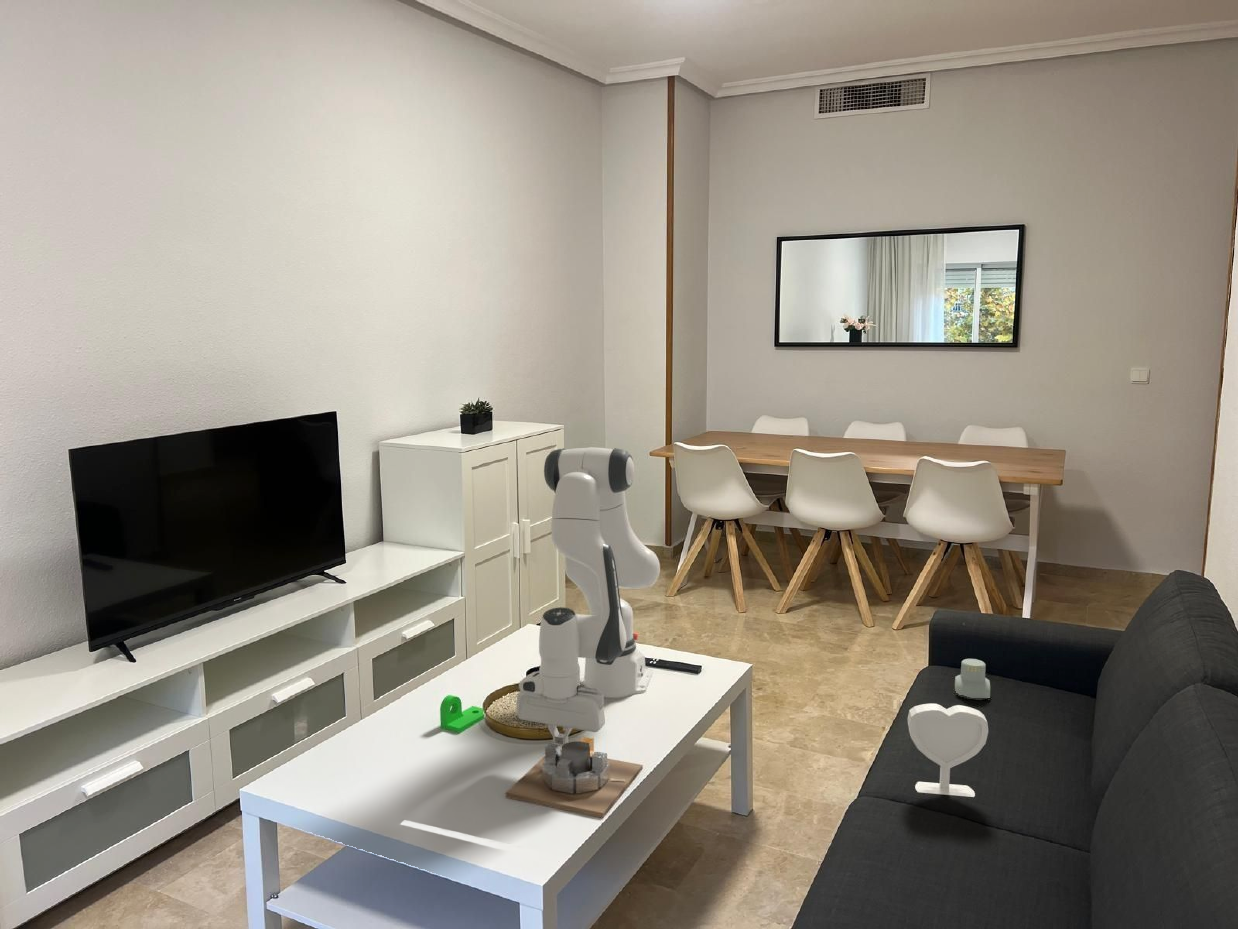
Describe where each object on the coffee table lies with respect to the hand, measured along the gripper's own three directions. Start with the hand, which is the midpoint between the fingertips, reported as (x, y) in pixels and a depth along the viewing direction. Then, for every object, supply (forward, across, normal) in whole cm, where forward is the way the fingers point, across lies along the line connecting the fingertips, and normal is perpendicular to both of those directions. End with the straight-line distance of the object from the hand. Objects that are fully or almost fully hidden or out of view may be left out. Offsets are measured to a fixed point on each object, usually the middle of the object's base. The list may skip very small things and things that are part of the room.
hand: (560, 743), depth 204 cm
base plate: (+6, -6, +5) cm, 10 cm away
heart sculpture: (+6, -79, -21) cm, 82 cm away
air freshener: (+6, -83, -74) cm, 111 cm away
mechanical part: (+6, +32, -12) cm, 34 cm away
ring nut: (+4, -6, +5) cm, 9 cm away
